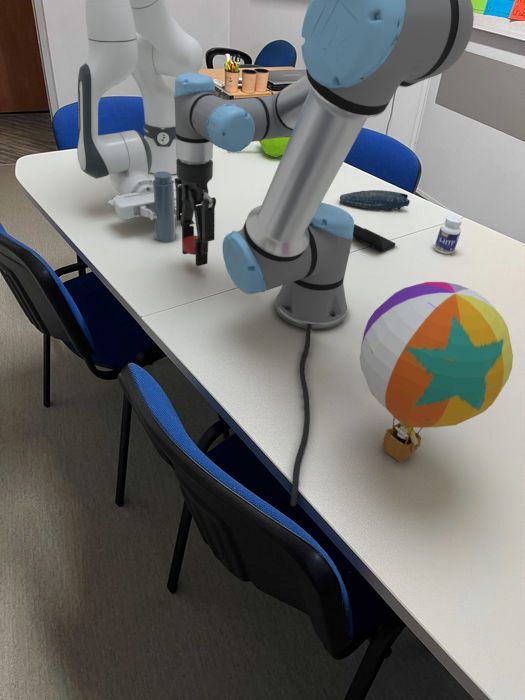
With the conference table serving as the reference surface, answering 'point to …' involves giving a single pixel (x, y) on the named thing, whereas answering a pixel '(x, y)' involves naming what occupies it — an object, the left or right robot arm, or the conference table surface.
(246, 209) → the conference table surface
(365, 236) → the handheld gaming console
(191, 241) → the lid
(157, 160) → the left robot arm
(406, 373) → the toy
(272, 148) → the decorative tree
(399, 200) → the fish model
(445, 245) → the pill bottle
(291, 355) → the conference table surface
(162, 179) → the blue-grey tall cylinder
